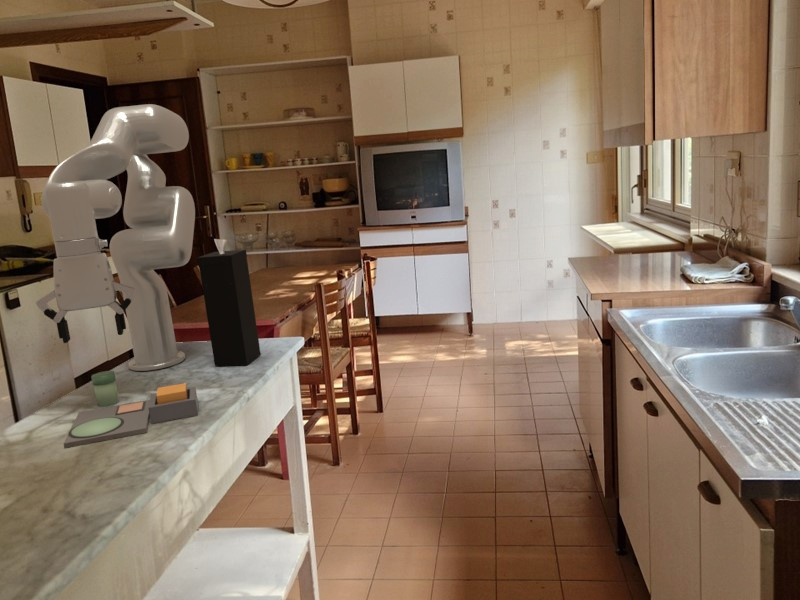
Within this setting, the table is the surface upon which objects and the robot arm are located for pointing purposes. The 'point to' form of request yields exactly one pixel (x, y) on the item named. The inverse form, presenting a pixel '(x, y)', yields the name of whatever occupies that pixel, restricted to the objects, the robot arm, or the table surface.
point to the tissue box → (229, 306)
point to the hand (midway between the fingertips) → (94, 337)
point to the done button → (172, 393)
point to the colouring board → (109, 423)
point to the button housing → (173, 408)
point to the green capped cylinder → (105, 388)
